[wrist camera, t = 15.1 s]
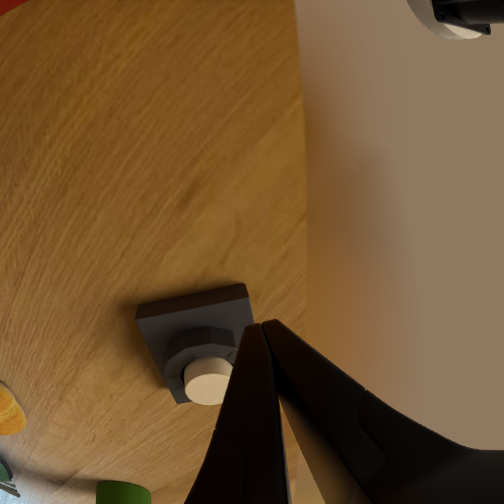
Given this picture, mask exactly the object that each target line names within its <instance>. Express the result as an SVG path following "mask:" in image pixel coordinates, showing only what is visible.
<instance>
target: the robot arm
mask: <svg viewBox="0 0 504 504" xmlns="http://www.w3.org/2000/svg"><path fill="white" fill-rule="evenodd" d="M431 1H432V6H433V12H434V16H435V19H436V20H437V21H438V22H440V23H444V24H448V25H452V26H456V27H460V28H463V29H467V30H470V31H474V32H477V33H480V34H484V35H490V34H491V29H490V24H493V23H504V0H431ZM440 15H441V17H440ZM278 397H279V398H278ZM279 400H280V403H281V405H282V408H283V410H284V412H285V415H286V417H287V419H288V421H289V424H290V426H291V428H292V431H293V433H294V435H295V437H296V440H297V442H298V444H299V446H300V449H301V451H302V453H303V455H304V458H305V460H306V462H307V464H308V466H309V469H310V471H311V473H312V475H313V477H314V480H315V482H316V484H317V486H318V488H319V490H320V493H321V495H322V497H323V499H324V501H325V503H326V504H504V450H479V449H473V448H469V447H465V446H463V445H460V444H457V443H455V442H453V441H451V440H449V439H447V438H445V437H443V436H441V435H440V434H438V433H436V432H434V431H432V430H430V429H428V428H426V427H425V426H423V425H421V424H419V423H417V422H415V421H414V420H412V419H410V418H408V417H407V416H405V415H403V414H401V413H400V412H398V411H396V410H395V409H393V408H392V407H390V406H389V405H387V404H386V403H384V402H383V401H382V400H380V399H379V398H377V397H376V396H375V395H374V394H372V393H371V392H370V391H368V390H365V388H364V387H363V386H362V385H360V384H359V383H357V382H356V381H355V380H354V379H352V378H351V377H350V376H349V375H347V374H346V373H345V372H343V371H342V370H341V369H339V368H338V367H337V366H336V365H334V364H333V363H332V362H330V361H329V360H328V359H327V358H325V357H324V356H323V355H321V354H320V353H319V352H318V351H316V350H315V349H314V348H312V347H311V346H310V345H309V344H307V343H306V342H305V341H304V340H303V339H301V338H300V337H299V336H297V335H296V334H295V333H294V332H292V331H291V330H290V329H289V328H287V327H286V326H285V325H284V324H283V323H281V322H280V321H279V320H277V319H273V320H268V321H264V322H262V324H260V323H255V324H251V325H247V326H245V328H244V331H243V334H242V338H241V341H240V344H239V348H238V351H237V355H236V358H235V362H234V365H233V368H232V372H231V375H230V379H229V382H228V385H227V389H226V392H225V395H224V399H223V402H222V406H221V409H220V412H219V416H218V419H217V422H216V426H215V428H216V429H215V430H214V432H213V435H212V438H211V442H210V445H209V447H208V450H207V453H206V456H205V459H204V462H203V464H202V466H201V469H200V471H199V473H198V475H197V478H196V480H195V482H194V484H193V486H192V488H191V490H190V492H189V494H188V496H187V498H186V500H185V502H184V504H292V501H291V493H290V484H289V476H288V468H287V460H286V452H285V444H284V436H283V428H282V420H281V412H280V405H279Z"/></svg>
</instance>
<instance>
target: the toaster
mask: <svg viewBox="0 0 504 504" xmlns="http://www.w3.org/2000/svg"><path fill="white" fill-rule="evenodd" d="M26 1H28V0H0V16H1V15H3V14H4V13H6V12H8V11H10V10H12V9H13V8H15V7H17V6H19V5H21V4H23V3H24V2H26Z"/></svg>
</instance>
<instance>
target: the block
mask: <svg viewBox="0 0 504 504" xmlns="http://www.w3.org/2000/svg"><path fill="white" fill-rule="evenodd" d="M135 320H136V322H137V325H138V327H139V329H140V331H141V333H142V336H143V338H144V340H145V342H146V344H147V346H148V348H149V350H150V353H151V355H152V357H153V359H154V361H155V363H156V365H157V367H158V369H159V371H160V373H161V375H162V377H163V378H164V380H165V382H166V384H167V386H168V388H169V390H170V392H171V394H172V395H173V397H174V399H175V401H176V403H177V404H180V403H186V402H193V401H192V400H190V399H189V398H188V397H187V395H186V393H185V381H184V371H185V368H186V366H187V365H188V364H189V363H190V362H191V361H193V360H195V359H197V358H202V357H208V356H212V357H218V358H223V359H225V360H227V361H228V362H229V363H230V364H231V365H232V367H233V365H234V362H235V358H236V355H237V351H238V348H239V344H240V341H241V338H242V334H243V331H244V328H245V326H247V325H251V324H254V320H253V315H252V309H251V304H250V299H249V295H248V291H247V288H246V284H241V285H236V286H231V287H227V288H222V289H217V290H212V291H208V292H203V293H198V294H193V295H188V296H183V297H179V298H174V299H169V300H164V301H159V302H154V303H148V304H143V305H138V308H137V313H136V319H135Z"/></svg>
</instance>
